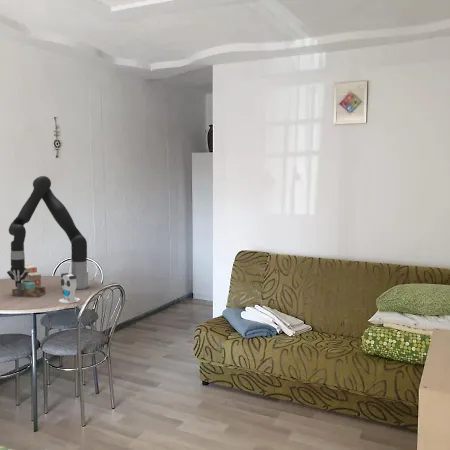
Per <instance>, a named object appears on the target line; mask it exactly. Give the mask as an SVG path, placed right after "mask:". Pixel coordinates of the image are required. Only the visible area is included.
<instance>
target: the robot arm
mask: <svg viewBox="0 0 450 450" xmlns="http://www.w3.org/2000/svg"><path fill="white" fill-rule="evenodd" d="M32 186H33V187H32V188H33V189H32V192H31V193H30V196H29V197H28V198H27V200H26V201H25V203H24V204H23V206H22V207H21V209H20V211H19V212H18V215H17V216H16V217H15V218H14V219H13V221H12V222H11V223H10V224H9V227H8V233H9V235H10V236H13V240H11V242H10V270H8V271H7V272H6V274H7V275H8V276H9V278H10V279H11V280H12V281H15V288H17V283H22V280H23V279H25V277H26V276H27V275H28V273H29V271H28V272H27V271H26V270H25V265H26V264H25V263H26V261H25V259H26V257H25V240H26V235H27V231H26V228H25V226H24V225H25V224H27V223H28V224H29V222H30V221H31V219H32V217H33V215H34V213H35V211H36V209H37V208H38V205H39V203H40V202H41V200H42V201H43V202H44V204H45V206H46V207H47V209H48V211H49V213H50V214H51V216H52V217H53V219H54V221H56V223H57V224H58V226H59V228H61V229H62V230H63V232H64V234H66V235H67V239H68V240H69V242H70V244H71V246H70V247H71V248H70V249H71V255H70V256H71V274H72V275H76V283H77V287H76V290H86V289H87V288H88V287H89V272H88V266H87V265H88V259H87V258H88V241H87V239H86V237H85V236H83V234H82V232H81V231H80V230H79V229H78V228H77V226H76V224H75V222H74V220H73V217H72V216H71V214H70V212H69V211H68V209H67V208H66V206H65V205H64V204H63V203H62V201H60V200H59V199H58V198H57V196H56V195H55V194H54V193H53V191H52V190H51V189H52V188H51V187H52V181H51V179H50V178H49V177H48V176H45V175H41V176H38V177H36V178H35V179H34V180H33V182H32ZM23 273H24V275H23V276H22V274H23Z"/></svg>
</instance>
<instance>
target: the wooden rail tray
mask: <svg viewBox="0 0 450 450" xmlns="http://www.w3.org/2000/svg"><path fill="white" fill-rule="evenodd" d="M23 282H30V281H23ZM44 295H46V287H45V286H41V287H35V290H27V289H25V286H24V283H22V282H21V283H17V287H16V288H12V290H11V296H12V297H25V298H26V297H28V298H40V297H42V296H44Z"/></svg>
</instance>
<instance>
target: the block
mask: <svg viewBox="0 0 450 450" xmlns="http://www.w3.org/2000/svg"><path fill="white" fill-rule="evenodd" d="M23 283H24V286H25V289H27V290H35V282H23Z"/></svg>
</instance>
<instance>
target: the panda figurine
mask: <svg viewBox="0 0 450 450" xmlns="http://www.w3.org/2000/svg"><path fill="white" fill-rule="evenodd" d="M60 277H61V279H60V285H61V286H62V287H61V288H62V294H63V298H60V299H59V300H58V302H59V303H62V304H74V303H77V302H80V301H81V299H80V298H79V297H76V290H77V289H76V287H77V283H76V275H72V273H70V274H69V273H68V272H65V273H61V275H60Z"/></svg>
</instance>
